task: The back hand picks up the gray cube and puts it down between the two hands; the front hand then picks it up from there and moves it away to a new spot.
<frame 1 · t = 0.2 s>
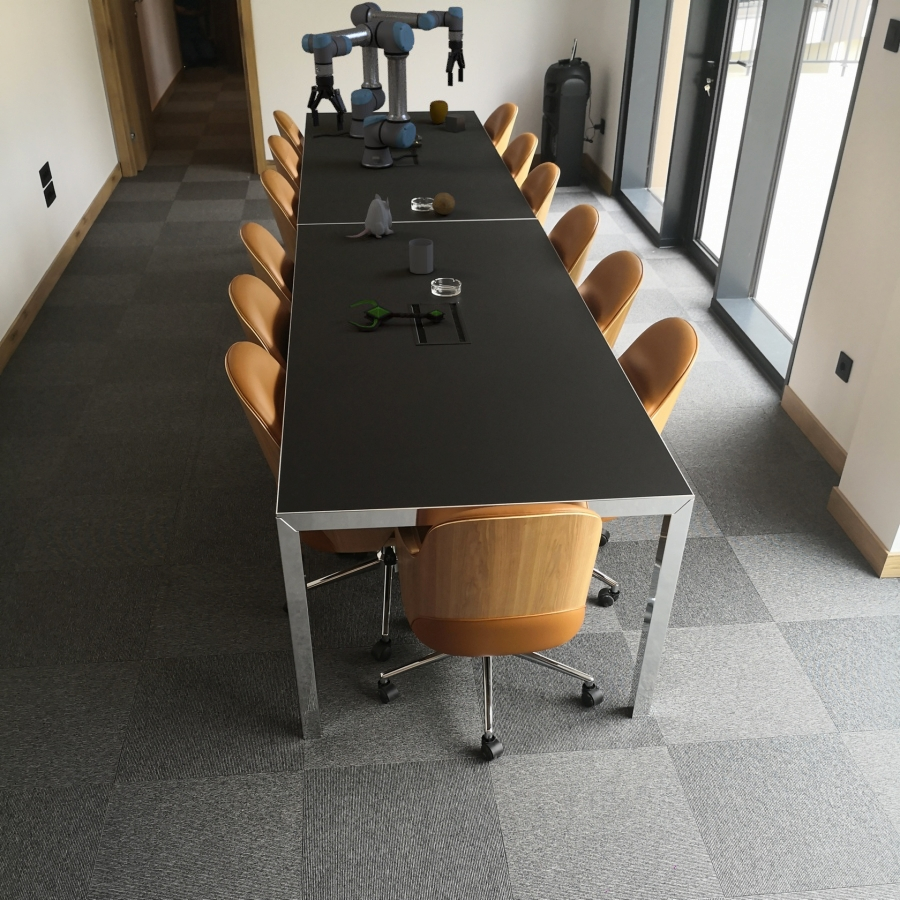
front hand: (328, 128, 373), 28 cm above the table, tool pointing down, fingers open, 13 cm apart
back hand: (455, 84, 462), 28 cm above the table, tool pointing down, fingers open, 13 cm apart
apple: (438, 123, 506), on the table
toy: (369, 238, 337), on the table
gray cube: (455, 130, 492), on the table
potato: (443, 213, 363), on the table
cup: (421, 270, 308), on the table
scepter: (397, 323, 270), on the table
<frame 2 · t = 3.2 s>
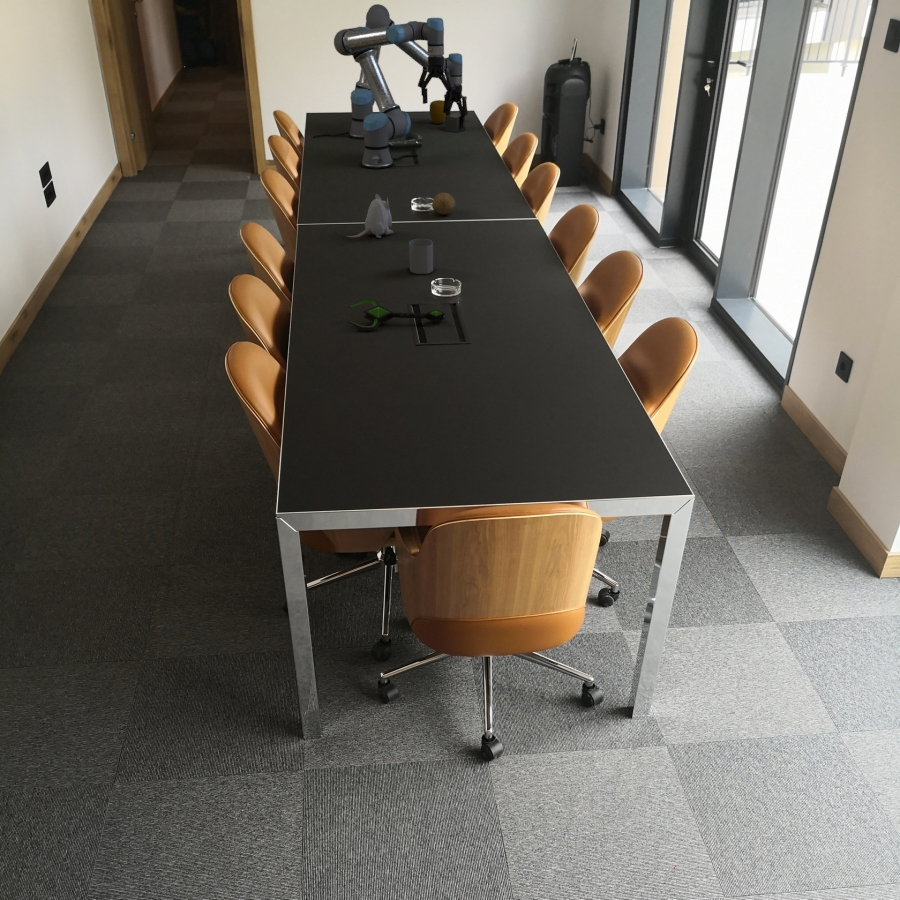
front hand: (436, 105, 407), 29 cm above the table, tool pointing down, fingers open, 13 cm apart
back hand: (455, 127, 491), 2 cm above the table, tool pointing down, fingers closed on gray cube, 8 cm apart
gray cube: (455, 130, 492), on the table, touching back hand
everything else where it was.
when the back hand's fingers open (3 cm above the table, at t = 10.8 s): gray cube drops 1 cm, on the table.
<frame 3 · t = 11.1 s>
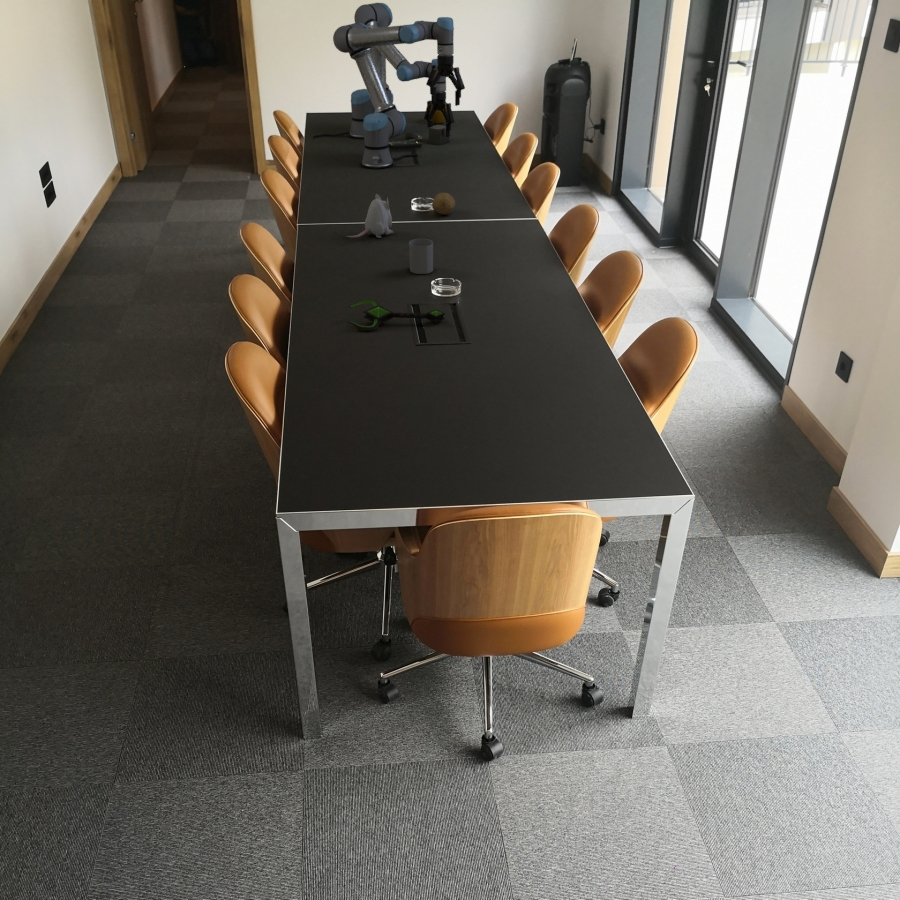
front hand: (445, 103, 410), 29 cm above the table, tool pointing down, fingers open, 13 cm apart
back hand: (439, 135, 465), 4 cm above the table, tool pointing down, fingers open, 10 cm apart
gray cube: (439, 142, 467), on the table
everything else where it was.
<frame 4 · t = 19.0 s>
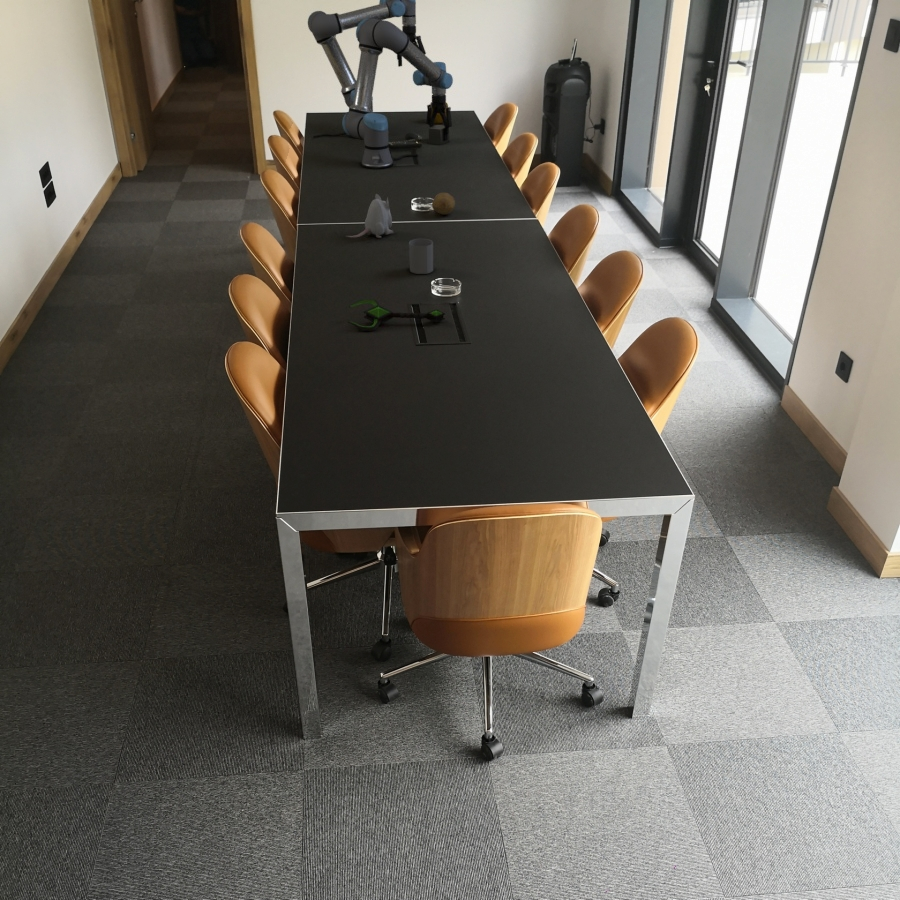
front hand: (439, 139, 466), 2 cm above the table, tool pointing down, fingers closed on gray cube, 8 cm apart
back hand: (410, 67, 481), 32 cm above the table, tool pointing down, fingers open, 13 cm apart
gray cube: (439, 142, 467), on the table, touching front hand
everything else where it was.
when the front hand's fingers open (3 cm above the table, at t = 28.3 s): gray cube drops 1 cm, on the table.
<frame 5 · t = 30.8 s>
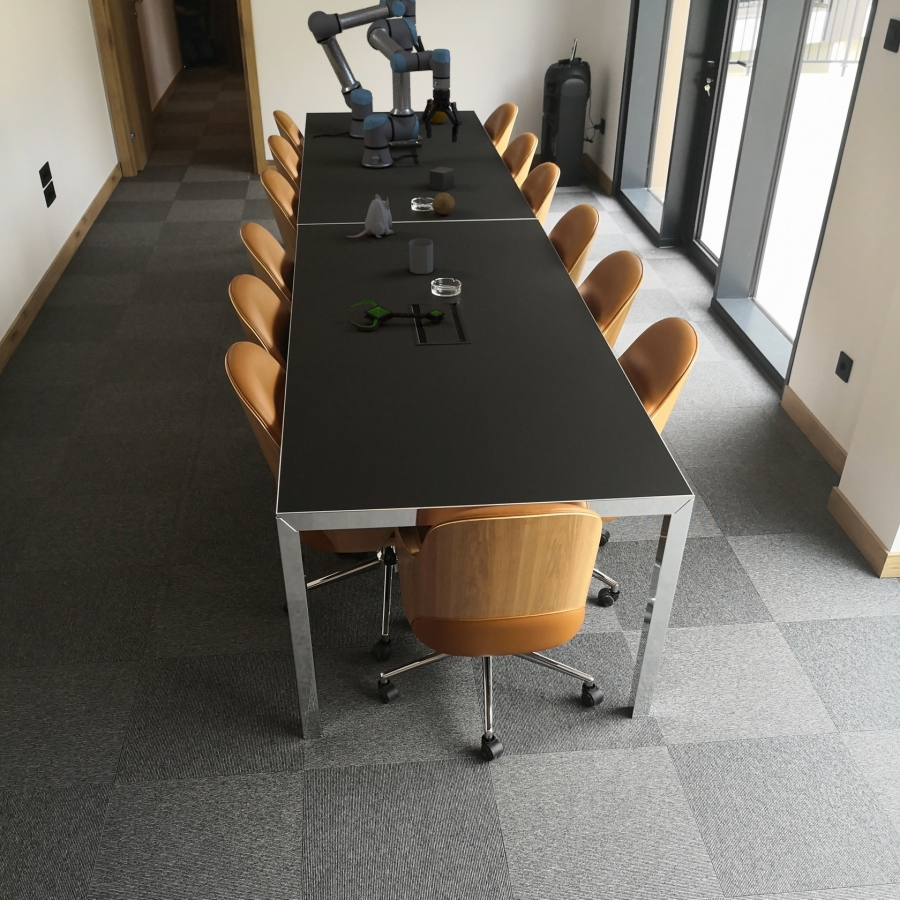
front hand: (441, 139, 384), 21 cm above the table, tool pointing down, fingers open, 13 cm apart
back hand: (410, 67, 481), 32 cm above the table, tool pointing down, fingers open, 13 cm apart
gray cube: (441, 187, 395), on the table
everything else where it was.
at the end: gray cube inside the target area (0.2 cm from its centre), on the table; gray cube tilted 0°; the two hands never held the gray cube at the same time; the front hand is holding nothing; the back hand is holding nothing; gray cube at rest at the end (0.0 cm/s) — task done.
